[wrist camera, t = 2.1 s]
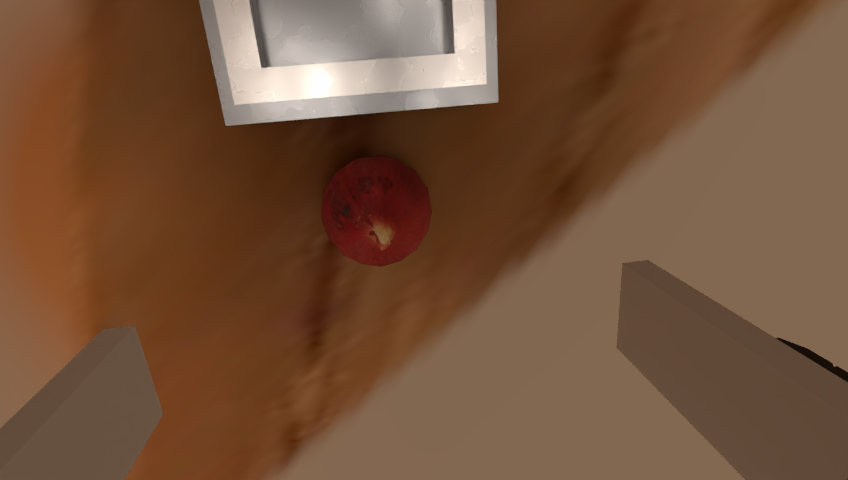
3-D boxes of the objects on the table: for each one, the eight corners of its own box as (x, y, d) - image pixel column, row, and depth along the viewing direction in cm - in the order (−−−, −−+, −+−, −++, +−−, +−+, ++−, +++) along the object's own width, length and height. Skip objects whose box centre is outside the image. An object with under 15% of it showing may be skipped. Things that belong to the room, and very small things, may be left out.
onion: (308, 209, 28) (290, 256, 21) (357, 127, 27) (357, 145, 19) (390, 255, 30) (400, 314, 22) (439, 180, 29) (468, 215, 21)
